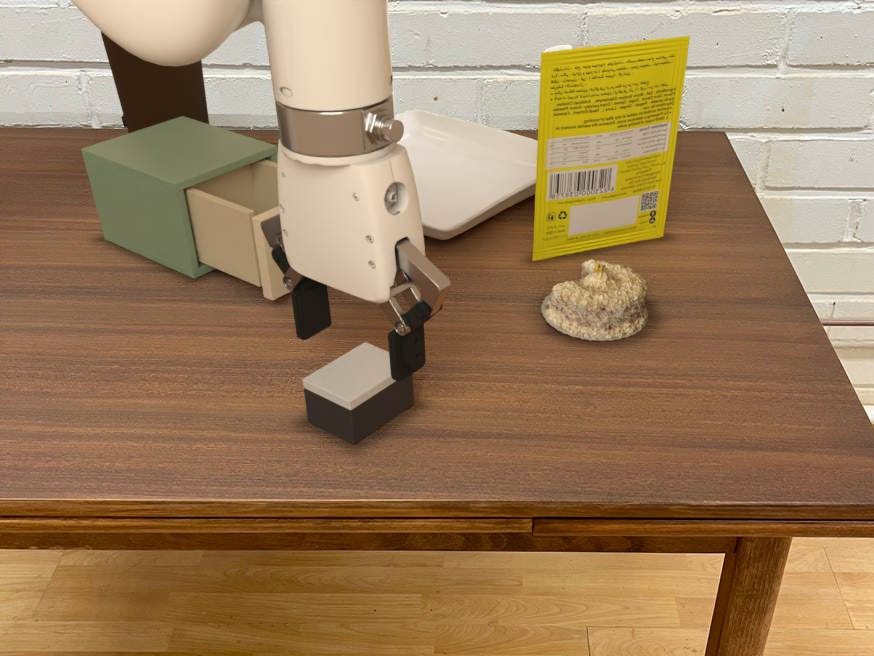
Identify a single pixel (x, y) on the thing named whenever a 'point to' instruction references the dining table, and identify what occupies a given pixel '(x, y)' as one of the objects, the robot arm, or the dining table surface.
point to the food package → (606, 144)
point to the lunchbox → (356, 394)
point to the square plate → (465, 170)
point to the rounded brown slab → (155, 89)
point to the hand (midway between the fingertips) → (360, 351)
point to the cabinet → (163, 184)
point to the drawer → (237, 224)
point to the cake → (599, 303)
